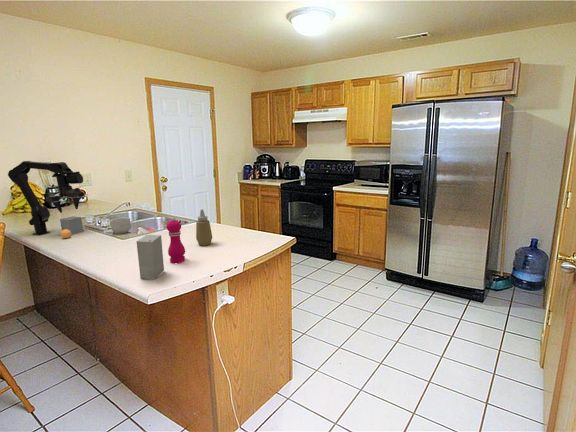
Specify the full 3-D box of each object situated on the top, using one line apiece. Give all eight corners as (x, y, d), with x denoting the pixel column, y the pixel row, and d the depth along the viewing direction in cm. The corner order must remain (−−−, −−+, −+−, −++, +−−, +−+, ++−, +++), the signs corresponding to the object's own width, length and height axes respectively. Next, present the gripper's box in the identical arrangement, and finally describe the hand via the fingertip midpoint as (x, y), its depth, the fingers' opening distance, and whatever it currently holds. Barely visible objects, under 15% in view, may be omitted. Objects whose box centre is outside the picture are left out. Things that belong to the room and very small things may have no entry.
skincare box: (149, 271, 140) (145, 234, 136) (166, 271, 139) (162, 234, 135) (139, 279, 131) (133, 240, 128) (156, 279, 131) (152, 240, 127)
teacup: (123, 235, 194) (121, 221, 192) (107, 234, 196) (105, 221, 194) (138, 228, 207) (137, 216, 205) (123, 228, 209) (121, 215, 207)
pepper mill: (171, 258, 153) (166, 215, 149) (187, 257, 154) (183, 214, 149) (167, 264, 146) (162, 219, 142) (184, 263, 147) (179, 218, 142)
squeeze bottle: (198, 247, 168) (195, 212, 164) (195, 243, 175) (191, 209, 171) (214, 245, 171) (212, 210, 167) (210, 240, 178) (207, 207, 174)
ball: (59, 238, 190) (57, 230, 189) (68, 236, 194) (66, 227, 193) (65, 239, 188) (63, 231, 187) (73, 237, 192) (72, 228, 191)
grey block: (62, 233, 200) (59, 219, 198) (75, 230, 207) (72, 216, 205) (70, 234, 197) (68, 220, 195) (83, 231, 204) (81, 217, 202)
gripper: (55, 187, 184) (61, 215, 187) (88, 182, 200) (93, 208, 204) (43, 186, 189) (49, 214, 192) (75, 182, 205) (81, 207, 208)
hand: (69, 210), depth 199 cm, fingers open, 9 cm apart
